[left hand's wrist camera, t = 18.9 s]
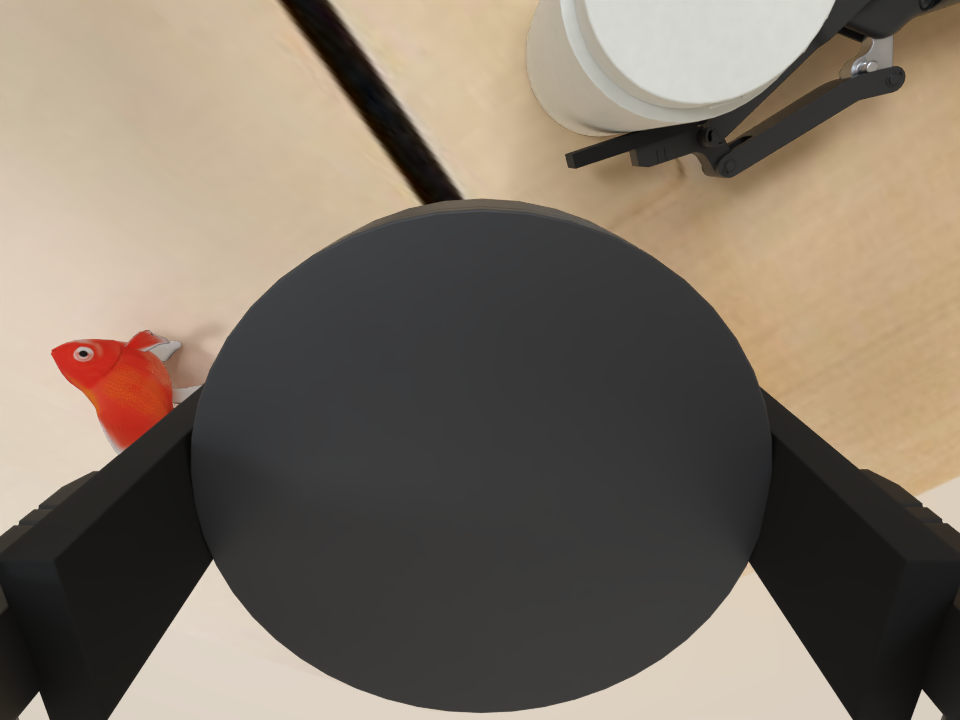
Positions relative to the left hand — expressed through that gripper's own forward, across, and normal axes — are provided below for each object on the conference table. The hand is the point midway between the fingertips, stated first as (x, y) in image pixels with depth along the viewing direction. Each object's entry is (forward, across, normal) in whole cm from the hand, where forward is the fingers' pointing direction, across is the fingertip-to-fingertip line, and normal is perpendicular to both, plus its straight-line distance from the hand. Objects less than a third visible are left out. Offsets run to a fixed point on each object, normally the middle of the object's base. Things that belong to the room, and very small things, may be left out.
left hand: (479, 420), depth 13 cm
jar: (+27, +8, +12) cm, 31 cm away
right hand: (+21, +3, +10) cm, 23 cm away
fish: (+27, -21, -11) cm, 36 cm away
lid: (-3, 0, 0) cm, 3 cm away
